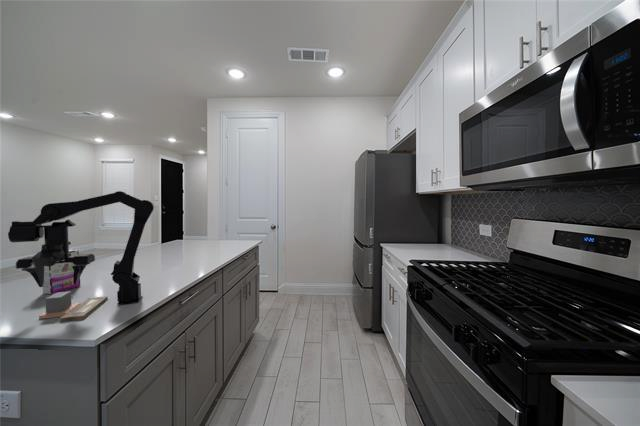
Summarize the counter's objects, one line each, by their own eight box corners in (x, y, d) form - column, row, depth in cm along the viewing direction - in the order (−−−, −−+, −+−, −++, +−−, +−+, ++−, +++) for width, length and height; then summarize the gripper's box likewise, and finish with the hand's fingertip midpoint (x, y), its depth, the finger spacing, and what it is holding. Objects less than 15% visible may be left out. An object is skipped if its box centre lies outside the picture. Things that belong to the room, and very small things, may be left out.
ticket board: (107, 299, 102) (107, 296, 102) (83, 319, 85) (83, 315, 85) (88, 301, 100) (88, 297, 100) (60, 321, 83) (60, 317, 83)
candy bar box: (72, 285, 118) (70, 249, 118) (80, 286, 117) (79, 249, 117) (41, 293, 107) (39, 254, 107) (50, 294, 106) (49, 254, 106)
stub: (80, 305, 96) (80, 289, 95) (66, 315, 87) (65, 298, 87) (56, 308, 93) (55, 291, 93) (39, 318, 85) (38, 300, 85)
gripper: (0, 245, 78) (3, 296, 79) (78, 242, 84) (80, 290, 85) (27, 240, 89) (29, 285, 90) (94, 237, 95) (96, 280, 96)
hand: (58, 285), depth 90 cm, fingers open, 9 cm apart
